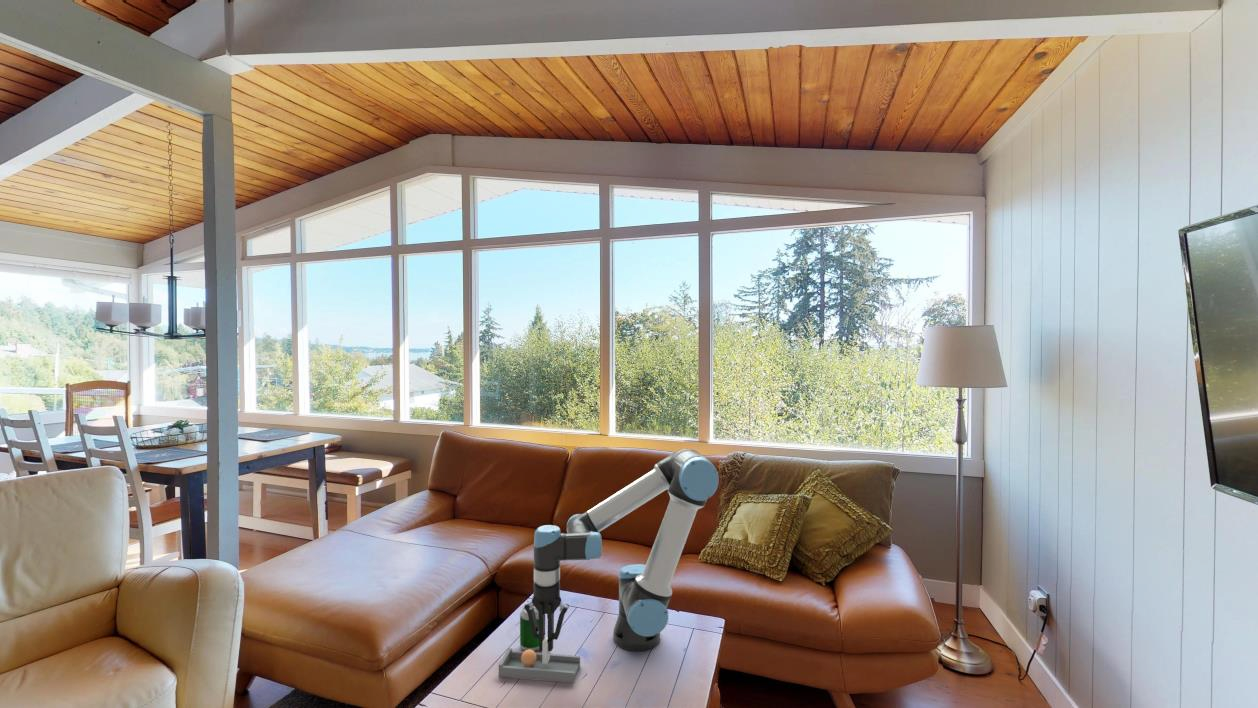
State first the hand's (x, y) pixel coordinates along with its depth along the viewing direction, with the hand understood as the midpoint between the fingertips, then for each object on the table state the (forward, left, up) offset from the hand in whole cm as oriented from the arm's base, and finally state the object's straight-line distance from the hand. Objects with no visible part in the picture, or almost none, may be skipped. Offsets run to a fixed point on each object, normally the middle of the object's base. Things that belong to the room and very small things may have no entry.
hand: (546, 661), depth 157 cm
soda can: (+8, -12, -3) cm, 15 cm away
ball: (+5, 0, +1) cm, 5 cm away
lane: (+2, 0, -3) cm, 4 cm away
